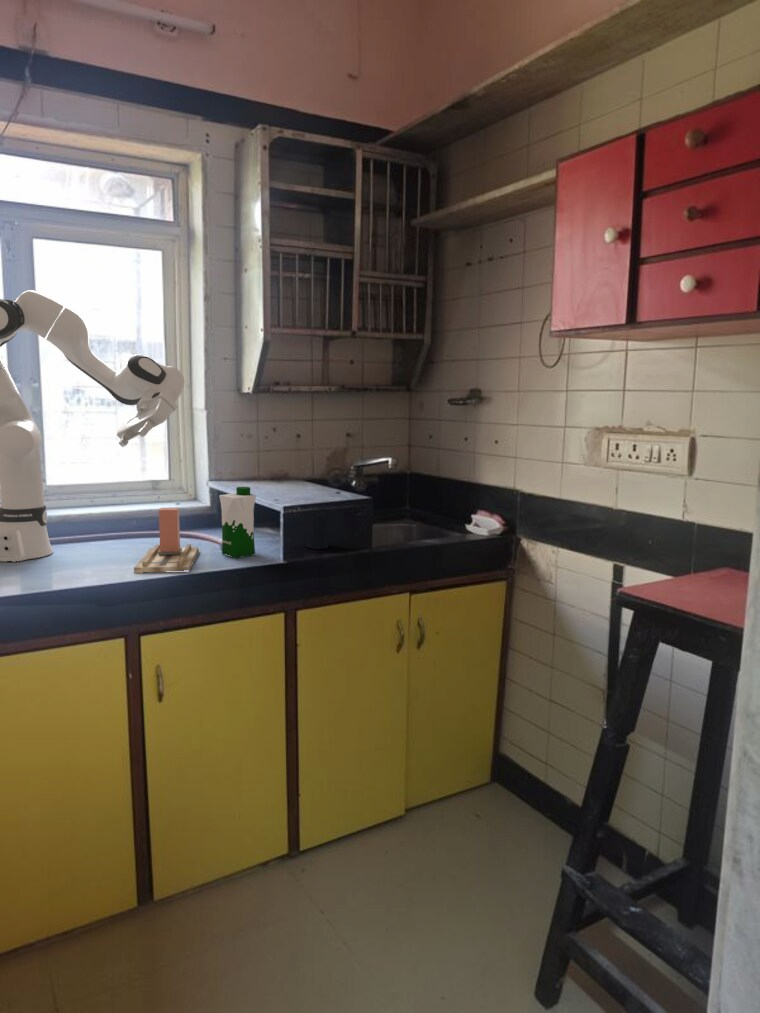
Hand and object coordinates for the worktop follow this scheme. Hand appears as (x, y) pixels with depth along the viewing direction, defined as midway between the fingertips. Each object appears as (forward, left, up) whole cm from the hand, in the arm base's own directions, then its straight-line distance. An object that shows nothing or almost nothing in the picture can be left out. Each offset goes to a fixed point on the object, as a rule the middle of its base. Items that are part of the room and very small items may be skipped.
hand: (131, 439), depth 200 cm
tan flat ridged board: (+10, -8, -34) cm, 36 cm away
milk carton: (+29, 0, -34) cm, 45 cm away
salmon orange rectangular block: (+10, -4, -32) cm, 34 cm away
